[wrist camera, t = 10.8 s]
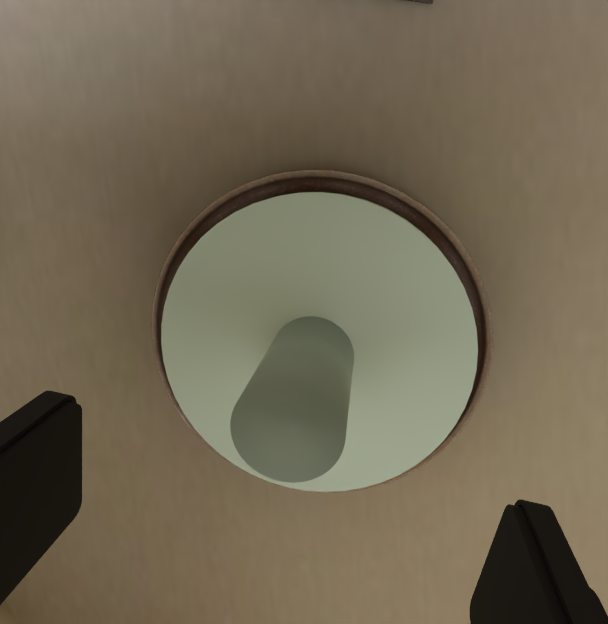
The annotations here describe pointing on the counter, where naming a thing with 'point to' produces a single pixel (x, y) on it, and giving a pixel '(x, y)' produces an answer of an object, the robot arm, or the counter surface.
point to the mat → (425, 0)
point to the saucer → (356, 188)
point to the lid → (319, 341)
